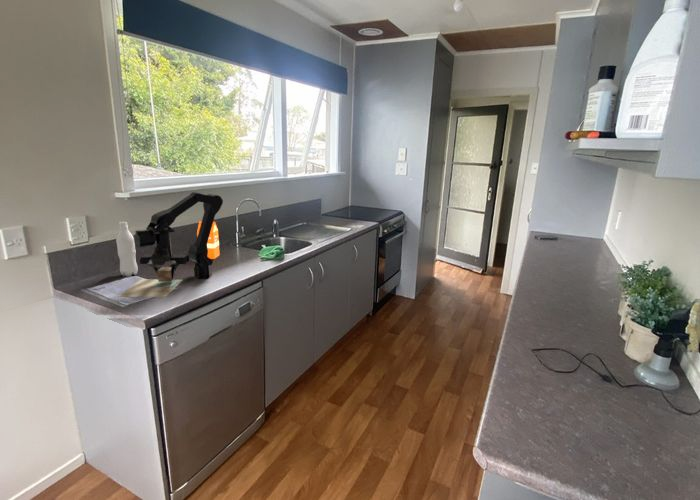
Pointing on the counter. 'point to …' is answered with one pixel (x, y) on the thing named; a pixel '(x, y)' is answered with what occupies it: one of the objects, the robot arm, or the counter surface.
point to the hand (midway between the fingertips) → (166, 278)
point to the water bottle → (126, 251)
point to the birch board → (150, 288)
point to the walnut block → (165, 274)
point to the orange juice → (212, 241)
